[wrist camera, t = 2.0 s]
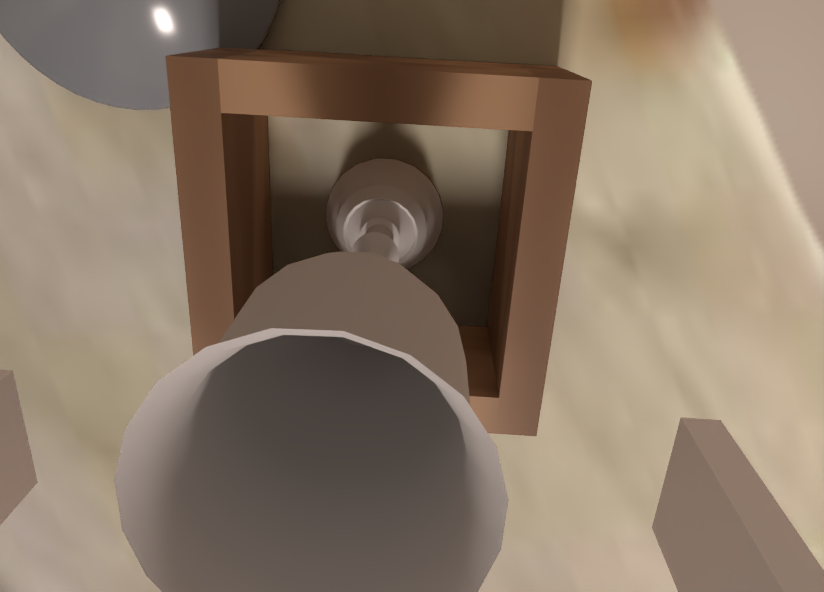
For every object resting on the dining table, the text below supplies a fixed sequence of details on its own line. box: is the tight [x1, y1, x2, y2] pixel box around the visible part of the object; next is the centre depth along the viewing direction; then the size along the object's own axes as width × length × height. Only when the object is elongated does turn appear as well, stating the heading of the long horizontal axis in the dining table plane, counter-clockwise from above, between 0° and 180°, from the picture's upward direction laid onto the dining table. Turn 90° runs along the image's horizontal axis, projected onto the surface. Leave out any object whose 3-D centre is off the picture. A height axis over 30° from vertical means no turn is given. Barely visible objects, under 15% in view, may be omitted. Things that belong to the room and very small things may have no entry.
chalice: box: [114, 158, 508, 592], centre depth 19 cm, size 7×7×18 cm
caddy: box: [165, 48, 592, 436], centre depth 25 cm, size 13×13×6 cm
